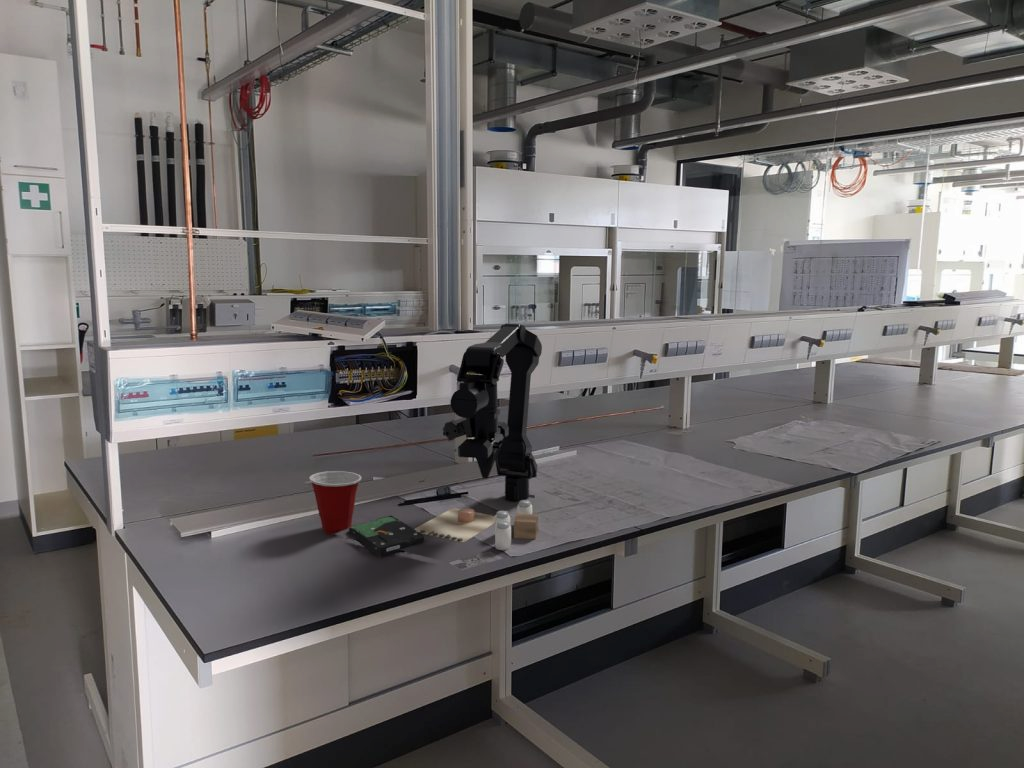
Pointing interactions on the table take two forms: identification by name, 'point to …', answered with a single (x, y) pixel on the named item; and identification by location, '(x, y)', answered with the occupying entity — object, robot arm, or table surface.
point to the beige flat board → (455, 526)
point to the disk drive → (386, 535)
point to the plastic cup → (335, 498)
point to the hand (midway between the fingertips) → (485, 477)
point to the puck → (466, 515)
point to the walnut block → (526, 526)
